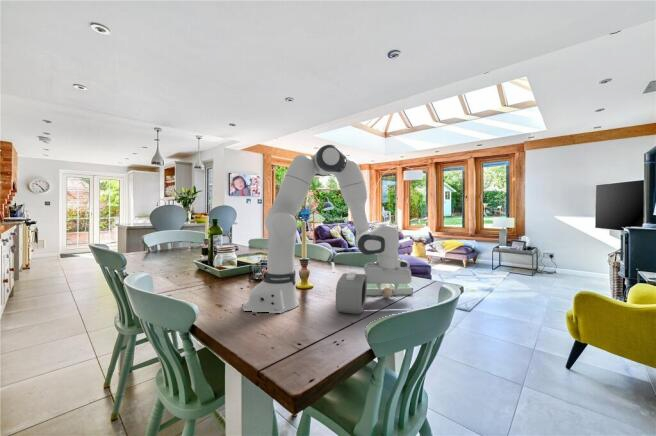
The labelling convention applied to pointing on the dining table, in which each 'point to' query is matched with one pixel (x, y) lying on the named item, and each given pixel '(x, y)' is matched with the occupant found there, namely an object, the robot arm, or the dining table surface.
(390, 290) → the brown egg
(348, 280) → the alarm clock
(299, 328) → the dining table surface
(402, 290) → the egg tray
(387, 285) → the cream egg
